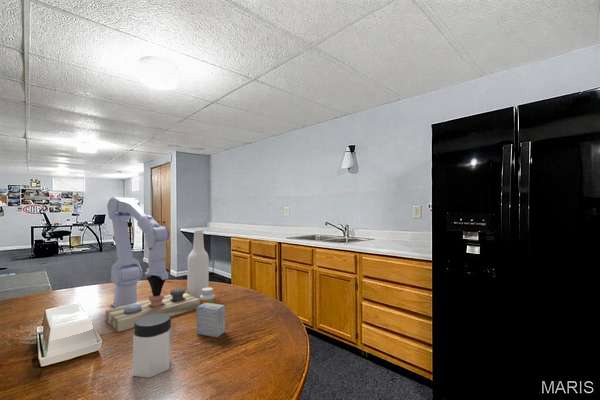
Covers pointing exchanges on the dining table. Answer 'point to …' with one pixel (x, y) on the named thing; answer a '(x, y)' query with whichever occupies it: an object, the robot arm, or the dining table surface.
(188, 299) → the panel
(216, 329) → the medicine box
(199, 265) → the alcohol
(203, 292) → the supplement bottle
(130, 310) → the slate-blue plug
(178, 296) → the charcoal plug
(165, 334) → the jar
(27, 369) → the dining table surface
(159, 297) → the terracotta plug
